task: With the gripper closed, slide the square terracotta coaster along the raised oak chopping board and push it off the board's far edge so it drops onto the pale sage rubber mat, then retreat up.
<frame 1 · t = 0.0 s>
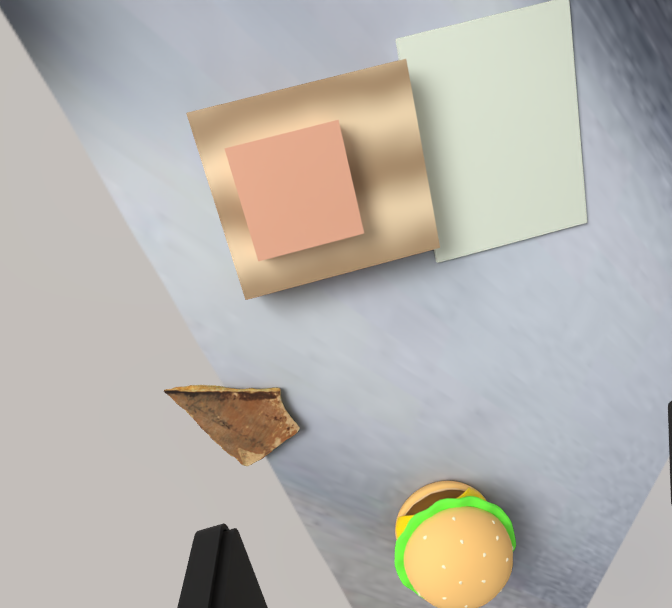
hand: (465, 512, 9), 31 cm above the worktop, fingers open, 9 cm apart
terracotta coaster: (296, 191, 34), point 3 cm above the worktop, touching oak board
sage mat: (497, 138, 38), on the worktop
hamburger: (439, 515, 49), on the worktop
oak board: (318, 184, 38), on the worktop
shard: (234, 420, 43), on the worktop
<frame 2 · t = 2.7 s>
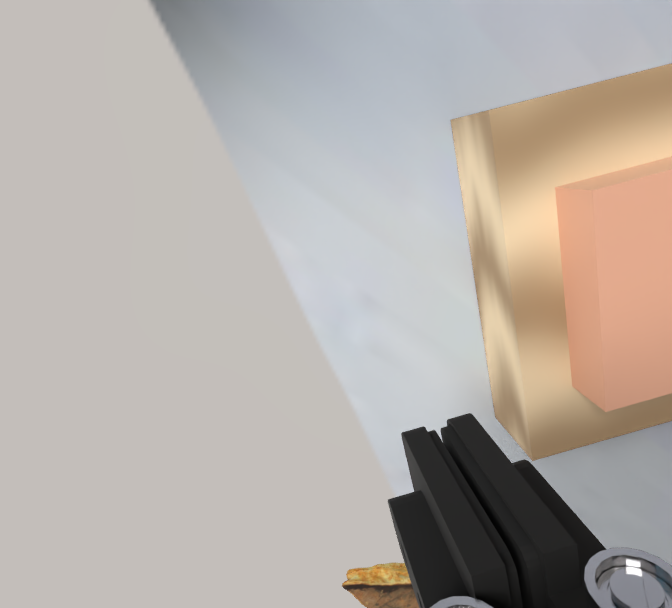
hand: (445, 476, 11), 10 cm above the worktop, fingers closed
terracotta coaster: (664, 266, 17), point 3 cm above the worktop, touching oak board
oak board: (644, 238, 21), on the worktop
shard: (434, 607, 27), on the worktop
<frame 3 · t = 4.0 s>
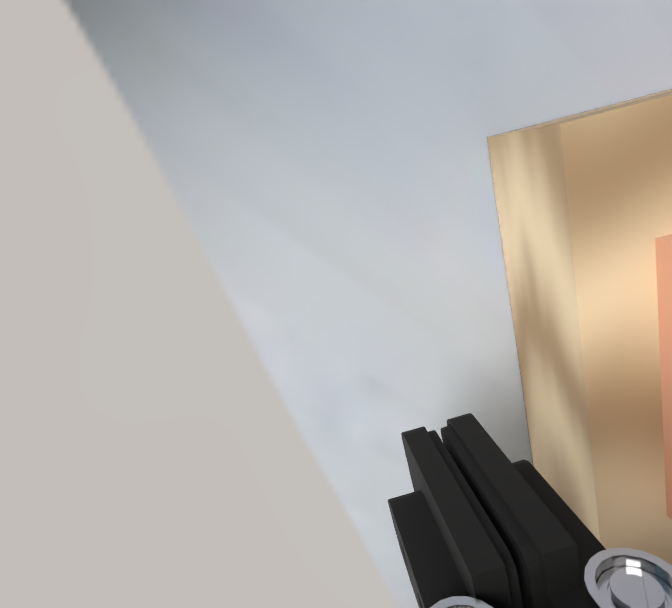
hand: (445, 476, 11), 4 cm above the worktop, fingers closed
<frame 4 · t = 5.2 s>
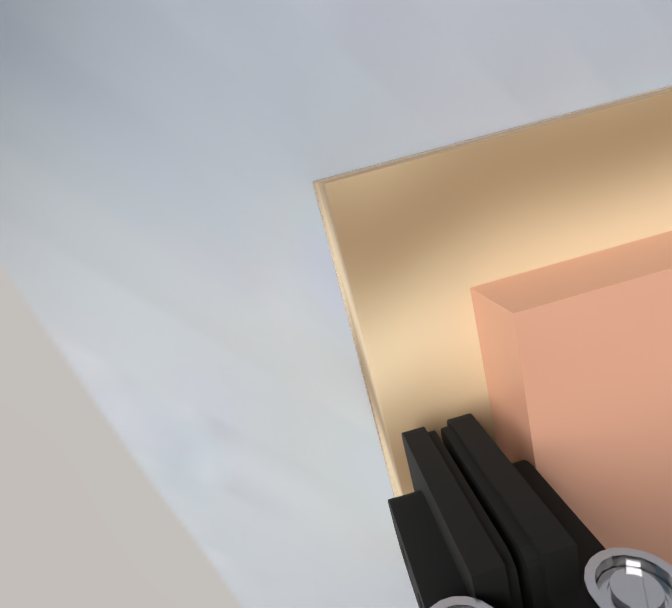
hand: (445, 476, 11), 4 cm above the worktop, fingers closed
terracotta coaster: (644, 392, 12), point 4 cm above the worktop, touching gripper, oak board
oak board: (602, 332, 15), on the worktop
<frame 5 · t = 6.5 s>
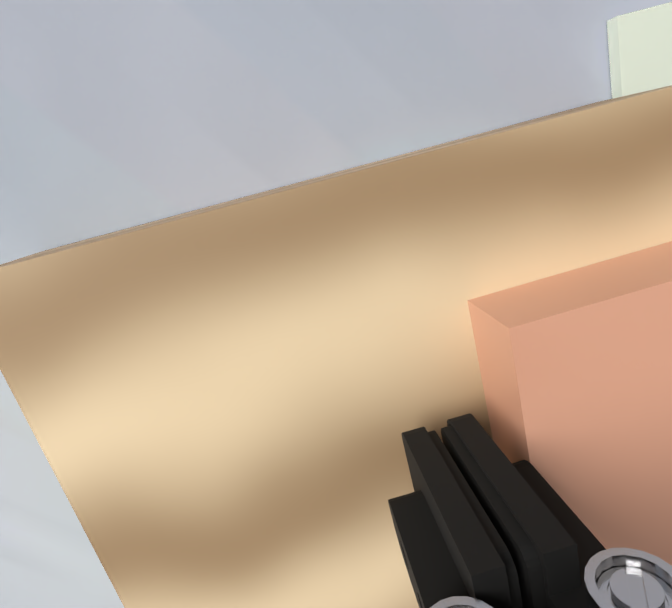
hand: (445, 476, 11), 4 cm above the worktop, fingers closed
terracotta coaster: (641, 401, 12), point 4 cm above the worktop, touching gripper
oak board: (381, 393, 15), on the worktop
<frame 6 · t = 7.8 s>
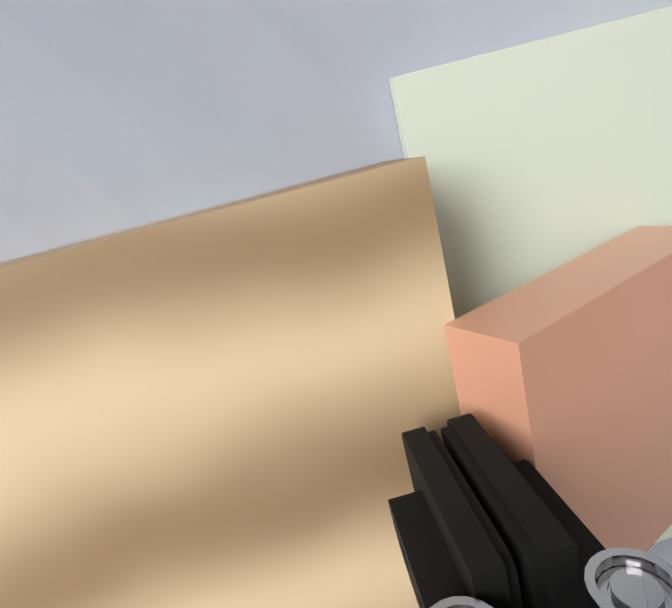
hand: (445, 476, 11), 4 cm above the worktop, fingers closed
terracotta coaster: (569, 399, 13), point 2 cm above the worktop, tilted 24°, touching gripper
sage mat: (648, 318, 15), on the worktop
oak board: (190, 450, 14), on the worktop
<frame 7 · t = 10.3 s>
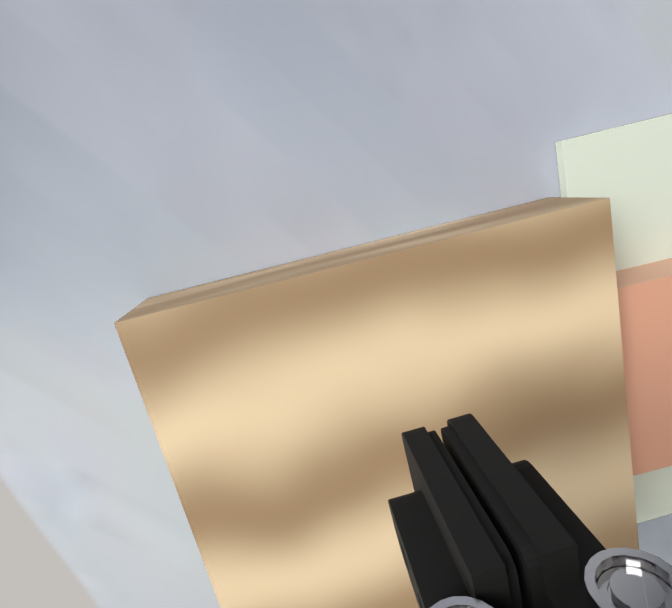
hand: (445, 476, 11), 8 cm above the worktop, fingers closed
terracotta coaster: (665, 350, 20), resting on sage mat
oak board: (389, 407, 19), on the worktop
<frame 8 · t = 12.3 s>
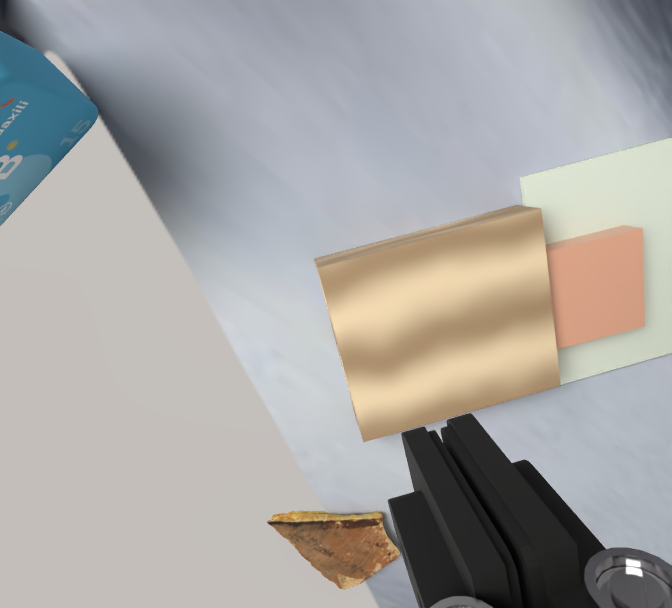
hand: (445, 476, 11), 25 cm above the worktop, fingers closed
terracotta coaster: (578, 285, 37), resting on sage mat
sage mat: (613, 266, 37), on the worktop
data package: (19, 150, 30), on the worktop
oak board: (432, 316, 37), on the worktop
shard: (331, 542, 42), on the worktop
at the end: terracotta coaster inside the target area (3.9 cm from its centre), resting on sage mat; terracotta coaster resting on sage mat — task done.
